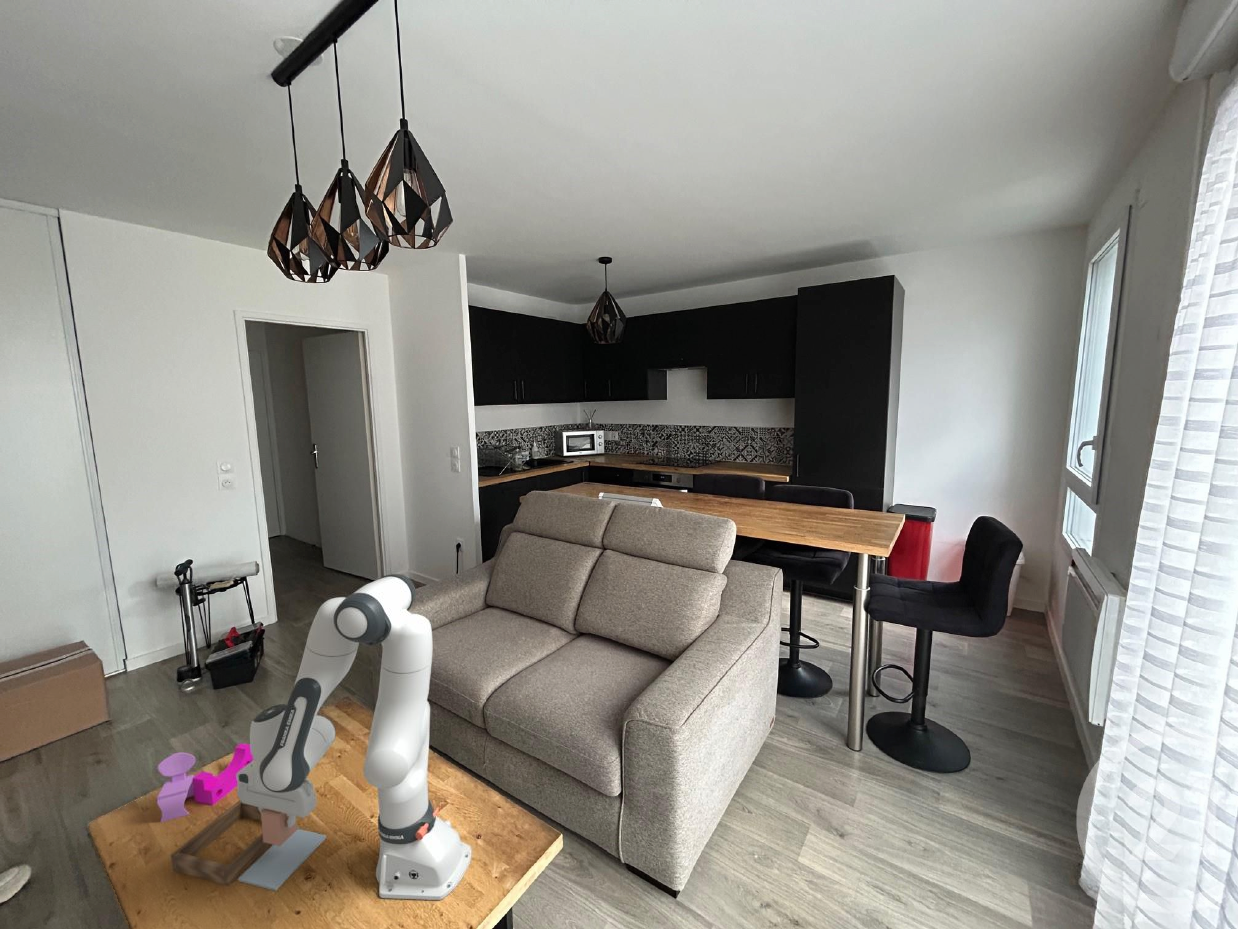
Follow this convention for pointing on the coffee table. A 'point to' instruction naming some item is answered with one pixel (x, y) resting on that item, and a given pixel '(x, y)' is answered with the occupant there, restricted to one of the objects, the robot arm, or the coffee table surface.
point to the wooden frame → (205, 868)
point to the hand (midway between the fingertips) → (279, 822)
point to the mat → (282, 860)
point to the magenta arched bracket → (221, 778)
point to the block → (276, 827)
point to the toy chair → (175, 785)
